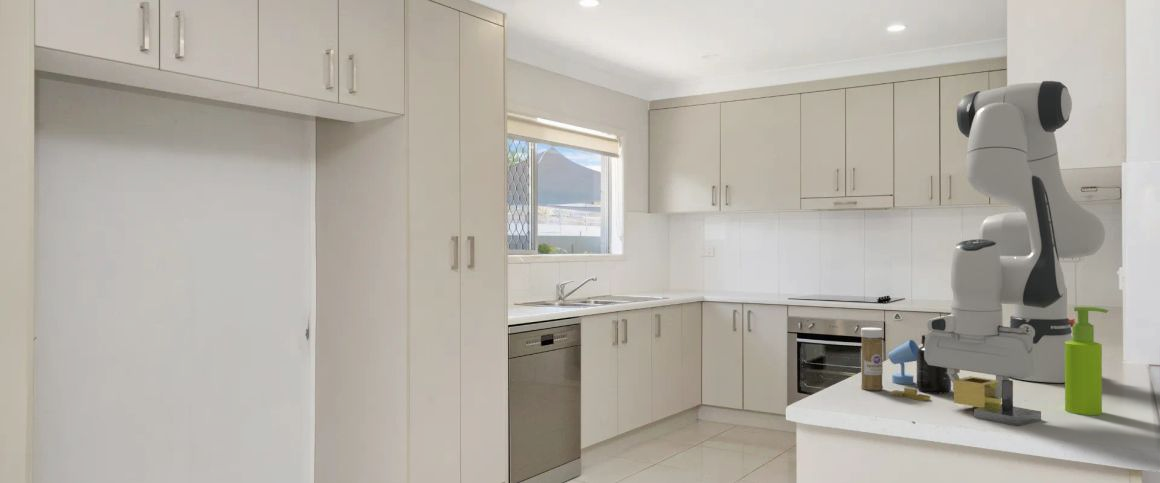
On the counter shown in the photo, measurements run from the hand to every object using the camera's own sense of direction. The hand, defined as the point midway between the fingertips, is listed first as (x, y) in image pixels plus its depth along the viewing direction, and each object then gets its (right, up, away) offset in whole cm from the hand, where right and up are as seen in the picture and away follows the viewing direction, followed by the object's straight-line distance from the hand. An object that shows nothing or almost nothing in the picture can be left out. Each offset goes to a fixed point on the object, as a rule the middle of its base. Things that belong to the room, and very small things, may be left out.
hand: (977, 394), depth 149 cm
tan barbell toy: (-8, -3, +11) cm, 14 cm away
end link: (0, -2, 0) cm, 2 cm away
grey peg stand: (+2, -3, -7) cm, 8 cm away
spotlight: (-3, -3, +27) cm, 27 cm away
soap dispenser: (+19, -3, -3) cm, 20 cm away
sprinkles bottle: (-13, -3, +20) cm, 24 cm away
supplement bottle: (0, -3, +18) cm, 18 cm away
